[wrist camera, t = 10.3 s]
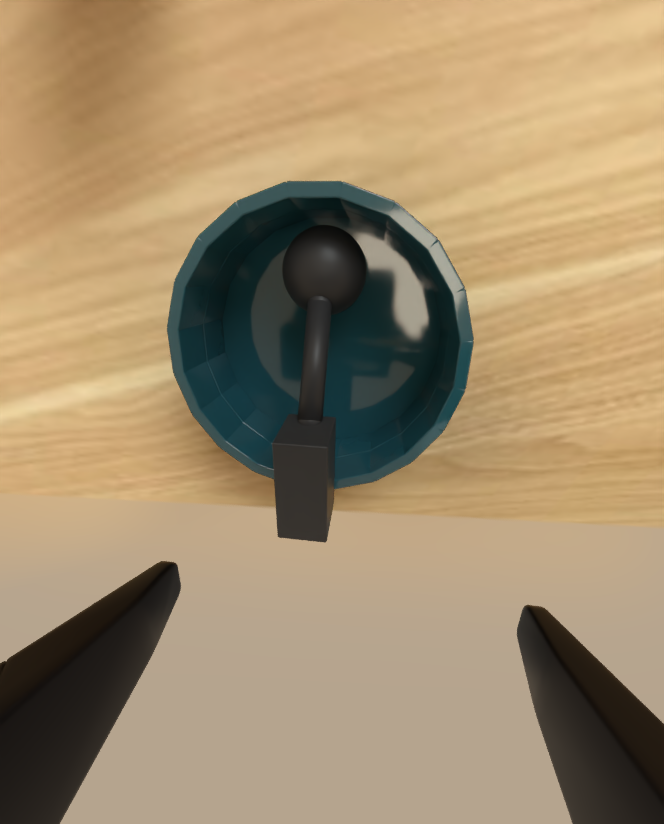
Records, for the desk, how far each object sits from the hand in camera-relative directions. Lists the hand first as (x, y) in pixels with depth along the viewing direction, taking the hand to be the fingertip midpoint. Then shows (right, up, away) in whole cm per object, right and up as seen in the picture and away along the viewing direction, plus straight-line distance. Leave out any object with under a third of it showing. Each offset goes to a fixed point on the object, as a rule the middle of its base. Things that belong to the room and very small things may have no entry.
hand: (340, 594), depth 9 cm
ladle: (0, +8, +9) cm, 12 cm away
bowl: (0, +9, +9) cm, 13 cm away
